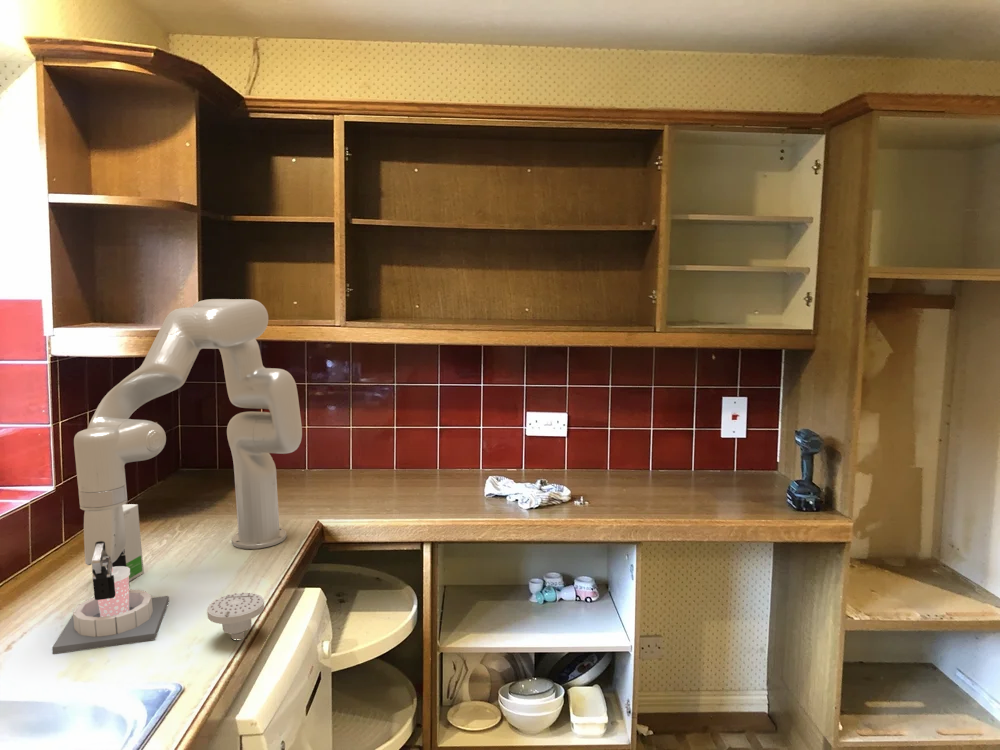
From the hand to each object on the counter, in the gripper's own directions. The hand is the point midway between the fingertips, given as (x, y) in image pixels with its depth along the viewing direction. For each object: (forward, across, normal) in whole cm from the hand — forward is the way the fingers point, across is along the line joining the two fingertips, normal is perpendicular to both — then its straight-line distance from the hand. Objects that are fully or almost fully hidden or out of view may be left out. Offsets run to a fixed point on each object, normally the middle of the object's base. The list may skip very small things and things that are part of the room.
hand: (111, 587), depth 133 cm
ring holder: (+7, 0, 0) cm, 7 cm away
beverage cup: (+6, 0, 0) cm, 7 cm away
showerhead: (+8, +12, +22) cm, 26 cm away
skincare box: (+8, -23, -4) cm, 25 cm away
